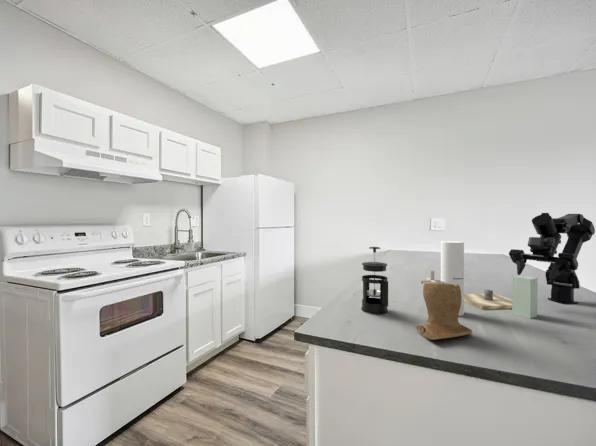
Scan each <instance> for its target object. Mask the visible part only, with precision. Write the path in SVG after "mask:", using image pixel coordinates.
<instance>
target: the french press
mask: <svg viewBox="0 0 596 446" xmlns="http://www.w3.org/2000/svg"><path fill="white" fill-rule="evenodd" d="M368 249H371V250H372V251H373V261H365V262H362V263H361V265H362V267H363V268H362V269H363V270H364V271H366V272H372V273H373V274H365V275H364V274H363V275H362V276H361V281H362V299H361V311H363V312H364V313H367V314H370V315H371V314H372V315H384V314H387V313H388V312H389V309H388V307H389V281H388V277H387V276H385V275H381V274H376V272H377V273H378V272H386V271H387V266H388V263H385V262H378V261H376V252H377V250H379V249H381V247H379V246H370V247H368ZM370 284H373V288H372V289H370ZM376 284H377V285H378V284H379V289H376Z"/></svg>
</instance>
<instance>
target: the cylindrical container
mask: <svg viewBox="0 0 596 446" xmlns="http://www.w3.org/2000/svg"><path fill="white" fill-rule="evenodd" d="M440 280H441V282H445V283H456V284H458V285H459V286H460V290H461V299H462V300H461V307H460V310H459V315H458V317H460V316H464V315H465V313H464V311H465V302H464V294H465V293H464V292H465V286H464V285H465V241H459V240H458V241H456V240H454V241H453V240H446V241H445V240H442V241H440Z"/></svg>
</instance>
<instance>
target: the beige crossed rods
mask: <svg viewBox="0 0 596 446" xmlns="http://www.w3.org/2000/svg"><path fill="white" fill-rule="evenodd" d="M425 282H441V279H435V270H432V269H430V270H429V277H428V276H427V277H426V279H419V284H421V285H422V284H423V285H424V283H425Z"/></svg>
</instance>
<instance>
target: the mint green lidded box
mask: <svg viewBox="0 0 596 446" xmlns="http://www.w3.org/2000/svg"><path fill="white" fill-rule="evenodd" d="M511 279H512V281H511V282H512V283H511V284H512V286H511V291H512V292H511V296H512V297H511V299H512V308H511V314H512V315H515V316H519V317H522V318H526V319H530V320H531V319H533V318H537V317H538V288H539V287H538V284H539V282H538V281H539V280H538V277H534V276H528V275H521V274H520V275H518V274H517V275H515V276H512V278H511Z"/></svg>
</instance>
